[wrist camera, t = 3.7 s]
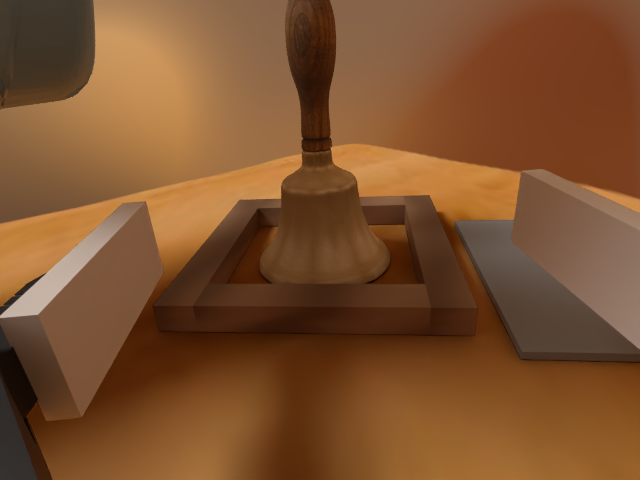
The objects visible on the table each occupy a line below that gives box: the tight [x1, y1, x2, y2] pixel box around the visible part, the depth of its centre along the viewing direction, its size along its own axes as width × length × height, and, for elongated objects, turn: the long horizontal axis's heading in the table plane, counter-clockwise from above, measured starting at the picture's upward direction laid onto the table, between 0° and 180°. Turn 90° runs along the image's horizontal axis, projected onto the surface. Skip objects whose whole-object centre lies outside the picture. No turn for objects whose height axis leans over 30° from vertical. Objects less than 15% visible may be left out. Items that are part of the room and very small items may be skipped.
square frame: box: [153, 195, 478, 336], centre depth 26 cm, size 15×15×2 cm
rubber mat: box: [455, 220, 640, 362], centre depth 22 cm, size 14×14×1 cm
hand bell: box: [259, 0, 390, 284], centre depth 23 cm, size 8×8×16 cm
